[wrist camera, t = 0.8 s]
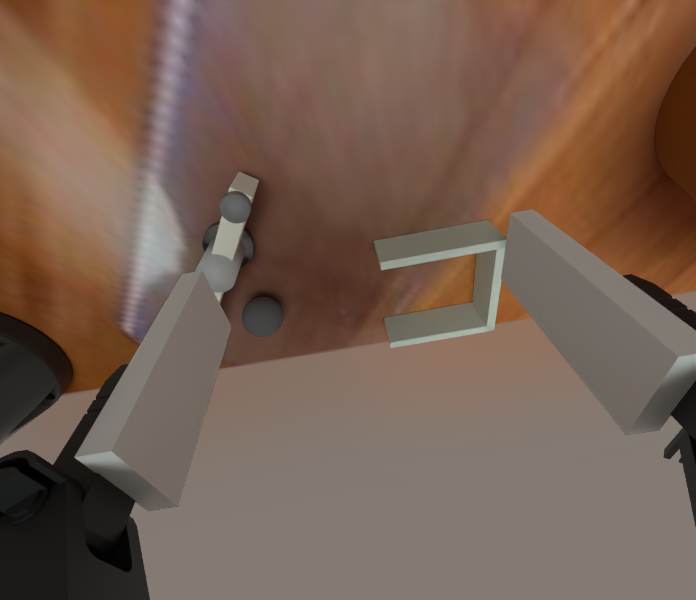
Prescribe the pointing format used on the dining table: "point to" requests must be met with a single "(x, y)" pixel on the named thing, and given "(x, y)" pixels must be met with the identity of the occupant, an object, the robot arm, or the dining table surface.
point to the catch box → (442, 246)
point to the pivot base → (245, 239)
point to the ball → (262, 316)
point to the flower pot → (679, 128)
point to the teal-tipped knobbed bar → (229, 236)
